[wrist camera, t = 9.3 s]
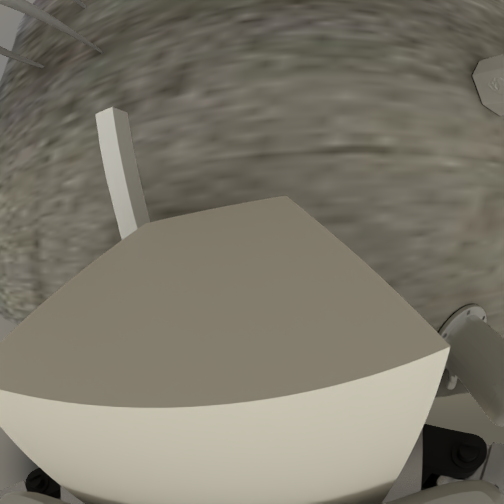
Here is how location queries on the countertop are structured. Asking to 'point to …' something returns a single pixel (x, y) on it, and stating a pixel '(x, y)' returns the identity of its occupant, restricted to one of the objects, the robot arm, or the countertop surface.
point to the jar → (491, 83)
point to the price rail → (121, 170)
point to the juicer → (19, 3)
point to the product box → (223, 367)
